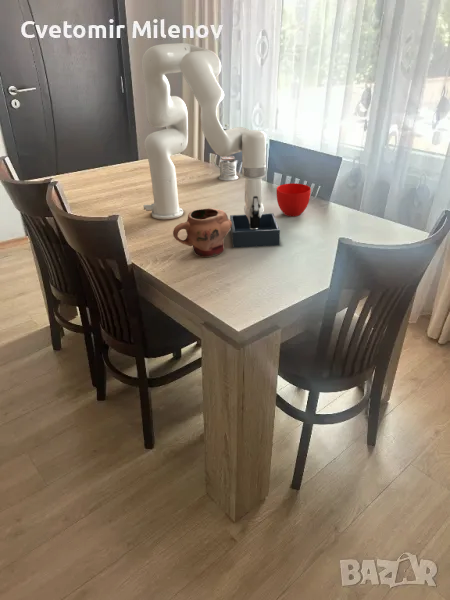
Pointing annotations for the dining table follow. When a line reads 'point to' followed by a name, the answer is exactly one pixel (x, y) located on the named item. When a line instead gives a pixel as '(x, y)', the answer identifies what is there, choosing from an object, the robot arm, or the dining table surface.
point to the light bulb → (248, 213)
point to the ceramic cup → (293, 198)
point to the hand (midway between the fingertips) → (253, 223)
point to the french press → (226, 173)
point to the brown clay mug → (205, 231)
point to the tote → (254, 231)
